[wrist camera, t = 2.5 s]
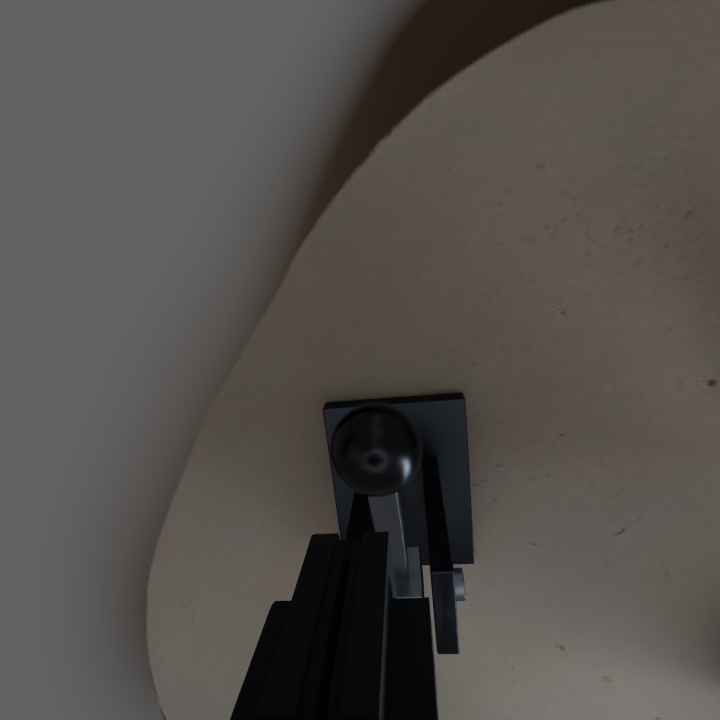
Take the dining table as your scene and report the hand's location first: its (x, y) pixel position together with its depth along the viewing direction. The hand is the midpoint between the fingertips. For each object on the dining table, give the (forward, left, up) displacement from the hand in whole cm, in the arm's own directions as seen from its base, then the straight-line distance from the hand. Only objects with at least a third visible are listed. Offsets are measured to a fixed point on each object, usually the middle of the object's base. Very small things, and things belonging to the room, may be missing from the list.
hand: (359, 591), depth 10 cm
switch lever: (+3, +2, -10) cm, 10 cm away
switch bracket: (+7, +6, -20) cm, 22 cm away
